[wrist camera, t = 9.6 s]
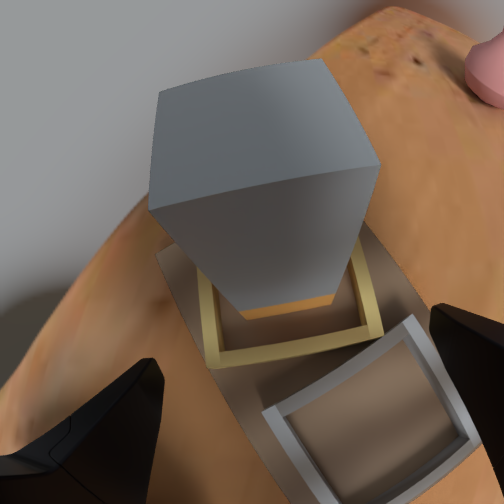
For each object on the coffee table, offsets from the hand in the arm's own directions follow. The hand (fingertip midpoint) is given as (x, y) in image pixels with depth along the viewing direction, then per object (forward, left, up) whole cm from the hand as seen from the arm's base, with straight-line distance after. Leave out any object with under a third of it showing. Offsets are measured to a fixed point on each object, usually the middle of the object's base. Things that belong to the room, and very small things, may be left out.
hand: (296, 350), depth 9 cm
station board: (-1, -2, -9) cm, 9 cm away
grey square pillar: (+5, -2, -8) cm, 10 cm away
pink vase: (+10, -34, -9) cm, 36 cm away
